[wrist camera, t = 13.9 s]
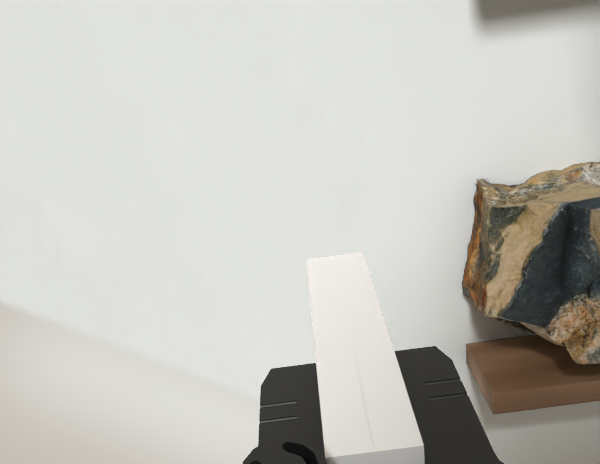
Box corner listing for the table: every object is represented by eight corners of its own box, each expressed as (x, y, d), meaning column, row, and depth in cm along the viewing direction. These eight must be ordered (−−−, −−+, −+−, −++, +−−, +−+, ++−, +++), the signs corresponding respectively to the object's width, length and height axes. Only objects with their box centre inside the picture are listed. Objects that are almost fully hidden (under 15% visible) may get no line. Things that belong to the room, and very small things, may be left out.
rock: (458, 176, 26) (503, 222, 21) (659, 150, 26) (756, 189, 20) (460, 332, 29) (500, 405, 24) (638, 309, 29) (717, 378, 24)
